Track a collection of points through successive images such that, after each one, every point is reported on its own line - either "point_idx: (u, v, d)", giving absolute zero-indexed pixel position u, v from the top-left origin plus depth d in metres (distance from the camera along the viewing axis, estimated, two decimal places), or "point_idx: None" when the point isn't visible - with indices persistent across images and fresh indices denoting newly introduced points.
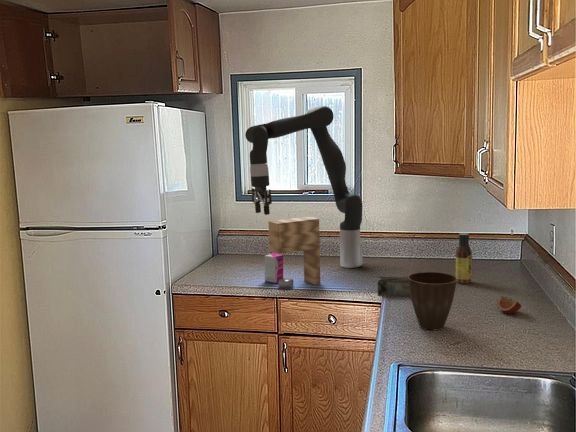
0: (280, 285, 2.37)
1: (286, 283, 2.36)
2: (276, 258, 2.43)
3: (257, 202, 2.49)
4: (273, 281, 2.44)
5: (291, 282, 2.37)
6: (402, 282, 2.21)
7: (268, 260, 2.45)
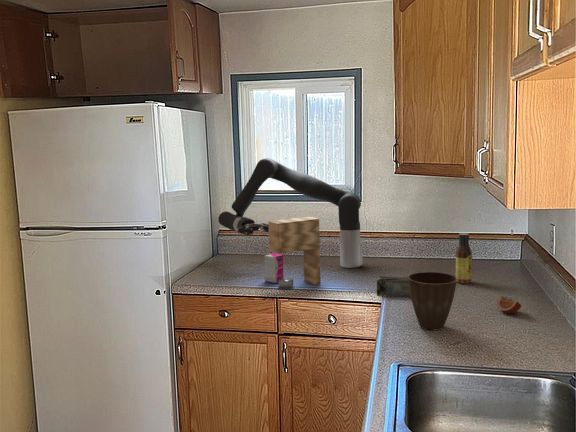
0: (280, 285, 2.37)
1: (286, 283, 2.36)
2: (276, 258, 2.43)
3: (264, 228, 2.60)
4: (273, 281, 2.44)
5: (291, 282, 2.37)
6: (401, 282, 2.21)
7: (268, 260, 2.45)
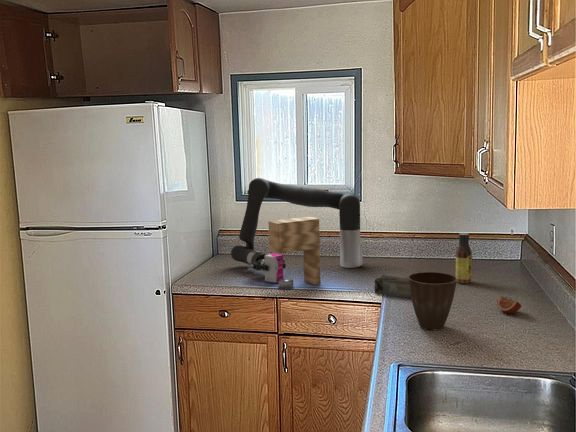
0: (280, 285, 2.37)
1: (286, 283, 2.36)
2: (276, 258, 2.43)
3: None
4: (273, 281, 2.44)
5: (291, 282, 2.37)
6: (397, 282, 2.21)
7: (268, 260, 2.45)
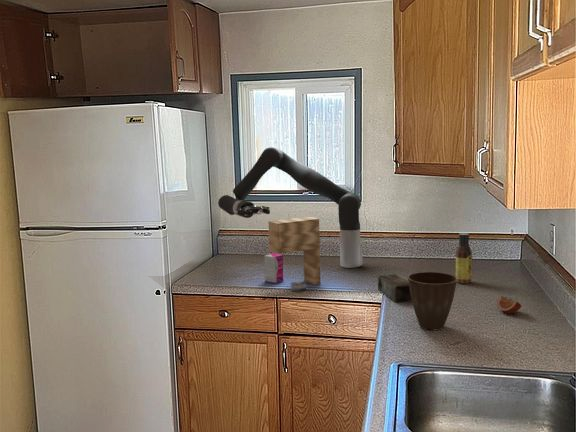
0: (294, 289, 2.31)
1: (301, 286, 2.30)
2: (276, 258, 2.43)
3: (263, 210, 2.59)
4: (273, 281, 2.44)
5: (305, 285, 2.32)
6: (386, 282, 2.22)
7: (268, 260, 2.45)
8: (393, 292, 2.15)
